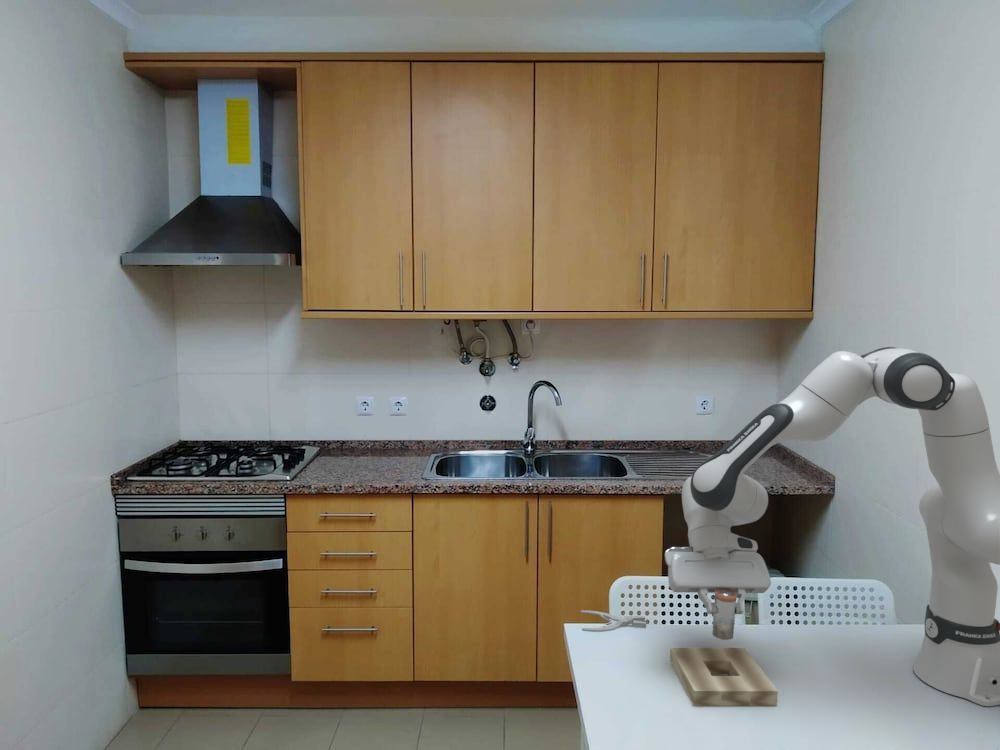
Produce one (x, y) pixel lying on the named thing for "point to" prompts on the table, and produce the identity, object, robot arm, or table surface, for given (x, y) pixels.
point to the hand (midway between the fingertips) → (725, 613)
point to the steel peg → (724, 613)
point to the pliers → (626, 621)
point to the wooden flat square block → (722, 677)
